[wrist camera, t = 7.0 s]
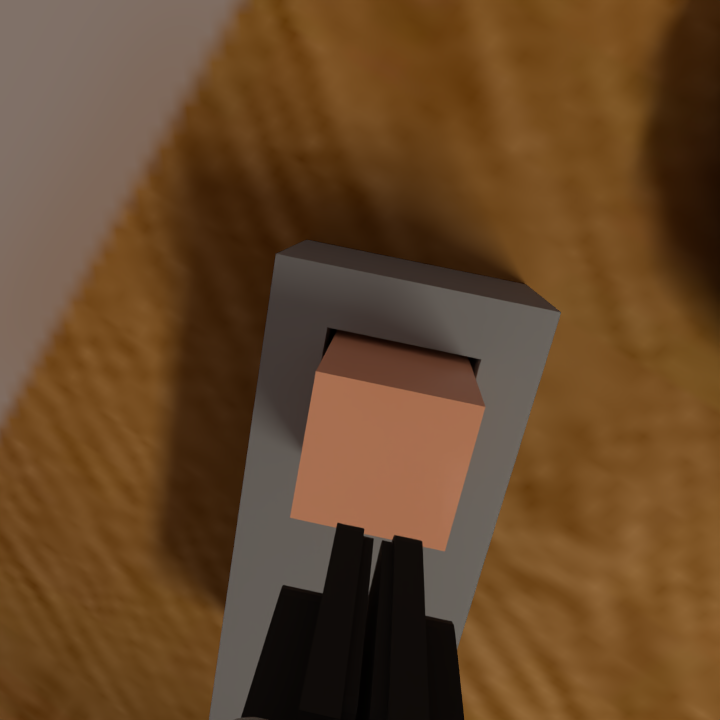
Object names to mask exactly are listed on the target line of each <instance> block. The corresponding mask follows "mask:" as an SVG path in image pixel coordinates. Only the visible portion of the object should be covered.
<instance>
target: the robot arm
mask: <svg viewBox="0 0 720 720" xmlns="http://www.w3.org/2000/svg"><path fill="white" fill-rule="evenodd" d="M373 543H374V538H370V537H365V536H364V528H360V527H356V526H351V525H346V524H342V523H337V527H336V532H335V536H334V541H333V546H332V551H331V556H330V561H329V565H328V570H327V575H326V580H325V585H324V589H323V593H319V592H314V591H310V590H305V589H300V588H296V587H291V586H286V585H283V586H282V588H281V591H280V594H279V597H278V600H277V603H276V607H275V610H274V613H273V616H272V619H271V623H270V626H269V629H268V632H267V635H266V639H265V642H264V645H263V648H262V651H261V655H260V658H259V661H258V664H257V667H256V671H255V674H254V677H253V680H252V684H251V687H250V690H249V693H248V696H247V700H246V703H245V706H244V709H243V712H242V716H241V718H237V719H234V720H464V713H463V703H462V694H461V684H460V674H459V664H458V655H457V645H456V635H455V628H454V624H453V622H452V621H448V620H444V619H439V618H435V617H430V616H425V590H424V564H423V543H422V541H421V540H417V539H412V538H407V537H403V536H398V535H394V536H393V539H392V542H389V541H384V540H382V542H381V545H380V549H379V554H378V558H377V562H376V566H375V570H374V574H373V579H372V583H371V587H370V591H369V584H370V574H371V563H372V553H373ZM368 594H369V595H368Z"/></svg>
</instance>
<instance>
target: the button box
mask: <svg viewBox="0 0 720 720" xmlns="http://www.w3.org/2000/svg"><path fill="white" fill-rule="evenodd" d="M560 314H561V312H560V311H559V310H557V309H556V308H555V307H554V306H552V305H551V304H550V303H549V302H547V301H546V300H545V299H544V298H542V297H541V296H540V295H539V294H537V293H536V292H535V291H534V290H532V289H531V288H530V287H529V286H527V285H526V284H521V283H516V282H512V281H507V280H502V279H497V278H492V277H487V276H482V275H477V274H472V273H468V272H463V271H458V270H453V269H448V268H443V267H438V266H433V265H428V264H423V263H419V262H414V261H409V260H404V259H399V258H394V257H389V256H384V255H379V254H374V253H370V252H365V251H360V250H355V249H350V248H345V247H340V246H335V245H330V244H326V243H321V242H316V241H311V240H305V241H303V242H300V243H298V244H296V245H294V246H292V247H290V248H287V249H285V250H283V251H281V252H279V253H277V254H276V257H275V264H274V271H273V278H272V285H271V292H270V299H269V306H268V313H267V320H266V326H265V333H264V340H263V347H262V354H261V361H260V368H259V375H258V382H257V389H256V396H255V403H254V410H253V417H252V424H251V431H250V438H249V445H248V452H247V459H246V466H245V473H244V480H243V487H242V494H241V501H240V508H239V514H238V521H237V528H236V535H235V542H234V549H233V556H232V563H231V570H230V577H229V584H228V591H227V598H226V605H225V612H224V619H223V626H222V633H221V640H220V647H219V654H218V661H217V668H216V675H215V682H214V689H213V695H212V702H211V709H210V716H209V720H234V719H237V718H241V716H242V712H243V709H244V706H245V703H246V700H247V696H248V693H249V690H250V687H251V684H252V680H253V677H254V674H255V671H256V667H257V664H258V661H259V658H260V655H261V651H262V648H263V645H264V642H265V639H266V635H267V632H268V629H269V626H270V623H271V619H272V616H273V613H274V610H275V607H276V603H277V600H278V597H279V594H280V591H281V588H282V586H283V585H286V586H291V587H296V588H300V589H305V590H310V591H314V592H319V593H323V589H324V585H325V580H326V575H327V570H328V565H329V561H330V556H331V551H332V546H333V541H334V536H335V532H336V528H335V527H330V526H326V525H321V524H317V523H312V522H307V521H303V520H298V519H294V518H290V515H291V509H292V503H293V498H294V492H295V486H296V481H297V475H298V469H299V464H300V458H301V452H302V447H303V441H304V435H305V430H306V424H307V419H308V413H309V407H310V402H311V396H312V390H313V385H314V379H315V373H316V370H317V368H318V366H319V364H320V362H321V360H322V359H323V357H324V355H325V353H326V351H327V349H328V347H329V345H330V343H331V341H332V340H333V338H334V336H335V334H336V332H337V330H343V331H348V332H352V333H357V334H362V335H367V336H372V337H376V338H381V339H386V340H391V341H396V342H400V343H405V344H410V345H415V346H420V347H424V348H429V349H434V350H439V351H444V352H448V353H453V354H458V355H463V356H468V359H469V361H470V364H471V367H472V370H473V373H474V376H475V378H476V381H477V384H478V387H479V390H480V393H481V396H482V398H483V401H484V404H485V410H484V414H483V418H482V421H481V425H480V428H479V432H478V435H477V439H476V442H475V446H474V450H473V453H472V457H471V460H470V464H469V467H468V471H467V474H466V478H465V482H464V485H463V489H462V492H461V496H460V499H459V503H458V506H457V510H456V514H455V517H454V521H453V524H452V528H451V531H450V535H449V539H448V542H447V546H446V549H445V551H440V550H436V549H431V548H427V547H423V564H424V590H425V616H430V617H435V618H439V619H444V620H448V621H452V622H453V624H454V628H455V635H456V645H457V648H458V645H459V641H460V638H461V635H462V632H463V628H464V625H465V622H466V619H467V615H468V612H469V609H470V606H471V603H472V599H473V596H474V593H475V590H476V586H477V583H478V580H479V577H480V573H481V570H482V567H483V564H484V560H485V557H486V554H487V551H488V547H489V544H490V541H491V538H492V534H493V531H494V528H495V525H496V521H497V518H498V515H499V512H500V509H501V505H502V502H503V499H504V496H505V492H506V489H507V486H508V483H509V479H510V476H511V473H512V470H513V466H514V463H515V460H516V457H517V453H518V450H519V447H520V444H521V440H522V437H523V434H524V431H525V428H526V424H527V421H528V418H529V415H530V411H531V408H532V405H533V402H534V398H535V395H536V392H537V389H538V385H539V382H540V379H541V376H542V372H543V369H544V366H545V363H546V359H547V356H548V353H549V350H550V346H551V343H552V340H553V337H554V334H555V330H556V327H557V324H558V321H559V317H560ZM364 536H365V537H370V538H374V543H373V553H372V563H371V574H370V584H369V591H370V587H371V583H372V579H373V574H374V570H375V566H376V562H377V558H378V554H379V549H380V545H381V542H382V540H384V541H389V542H392V540H390V539H385V538H381V537H376V536H372V535H367V534H364ZM368 595H369V594H368Z"/></svg>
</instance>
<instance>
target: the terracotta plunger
mask: <svg viewBox="0 0 720 720" xmlns="http://www.w3.org/2000/svg"><path fill="white" fill-rule="evenodd" d="M484 410H485V404H484V401H483V398H482V396H481V393H480V390H479V387H478V384H477V381H476V378H475V376H474V373H473V370H472V367H471V364H470V361H469V359H468V356H463V355H458V354H453V353H448V352H444V351H439V350H434V349H429V348H424V347H420V346H415V345H410V344H405V343H400V342H396V341H391V340H386V339H381V338H376V337H372V336H367V335H362V334H357V333H352V332H348V331H343V330H337V332H336V334H335V336H334V338H333V340H332V341H331V343H330V345H329V347H328V349H327V351H326V353H325V355H324V357H323V359H322V360H321V362H320V364H319V366H318V368H317V370H316V373H315V379H314V385H313V390H312V396H311V402H310V407H309V413H308V419H307V424H306V430H305V435H304V441H303V447H302V452H301V458H300V464H299V469H298V475H297V481H296V486H295V492H294V498H293V503H292V509H291V515H290V518H294V519H298V520H303V521H307V522H312V523H317V524H321V525H326V526H330V527H335V528H336V527H337V523H342V524H346V525H351V526H356V527H360V528H364V534H367V535H372V536H376V537H381V538H385V539H390V540H392V539H393V536H394V535H398V536H403V537H407V538H412V539H417V540H421V541H422V543H423V547H427V548H431V549H436V550H440V551H445V549H446V546H447V542H448V539H449V535H450V531H451V528H452V524H453V521H454V517H455V514H456V510H457V506H458V503H459V499H460V496H461V492H462V489H463V485H464V482H465V478H466V474H467V471H468V467H469V464H470V460H471V457H472V453H473V450H474V446H475V442H476V439H477V435H478V432H479V428H480V425H481V421H482V418H483V414H484Z"/></svg>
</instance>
